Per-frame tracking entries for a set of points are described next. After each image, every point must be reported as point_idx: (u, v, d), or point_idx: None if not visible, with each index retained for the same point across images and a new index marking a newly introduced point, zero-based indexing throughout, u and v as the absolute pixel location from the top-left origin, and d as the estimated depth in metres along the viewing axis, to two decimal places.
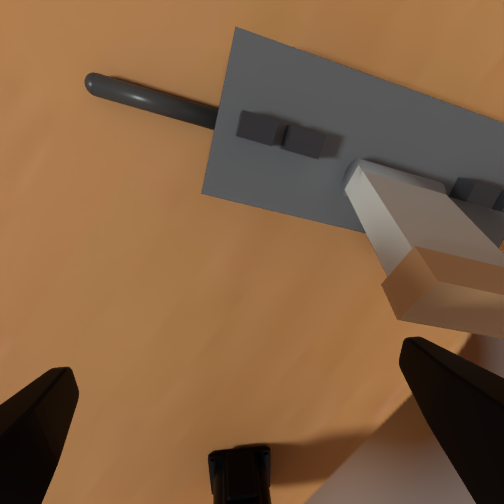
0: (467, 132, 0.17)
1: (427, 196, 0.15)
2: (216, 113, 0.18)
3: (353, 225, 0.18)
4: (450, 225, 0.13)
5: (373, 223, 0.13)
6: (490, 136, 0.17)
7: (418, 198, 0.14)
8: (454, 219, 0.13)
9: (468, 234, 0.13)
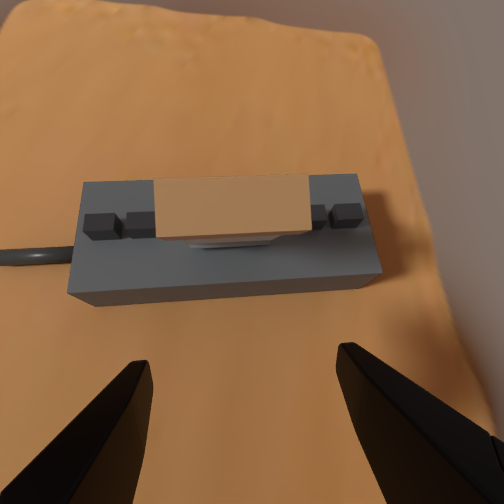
0: None
1: None
2: None
3: (222, 279, 0.19)
4: None
5: None
6: None
7: None
8: None
9: None
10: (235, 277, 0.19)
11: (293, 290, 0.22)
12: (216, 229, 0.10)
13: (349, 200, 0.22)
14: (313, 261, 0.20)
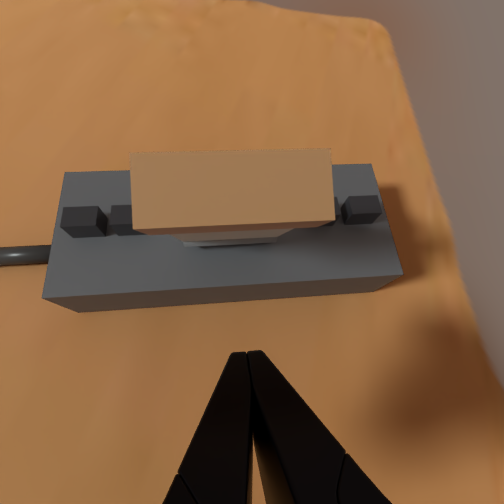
0: None
1: None
2: None
3: (221, 281, 0.16)
4: None
5: None
6: None
7: None
8: None
9: None
10: (235, 279, 0.16)
11: (300, 294, 0.20)
12: (212, 219, 0.08)
13: (364, 192, 0.19)
14: (324, 261, 0.17)
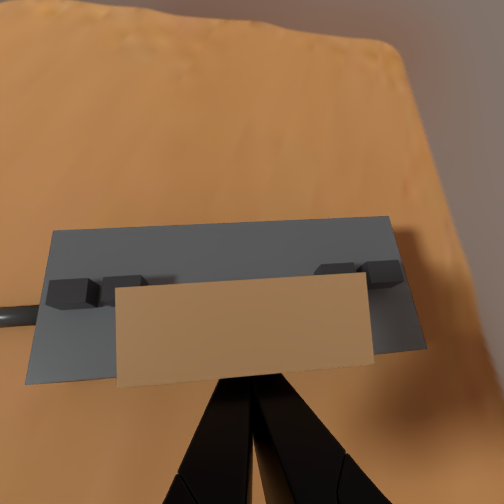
0: (294, 235, 0.18)
1: None
2: None
3: None
4: None
5: None
6: (318, 231, 0.18)
7: None
8: None
9: None
10: None
11: None
12: (218, 370, 0.06)
13: (381, 250, 0.18)
14: None
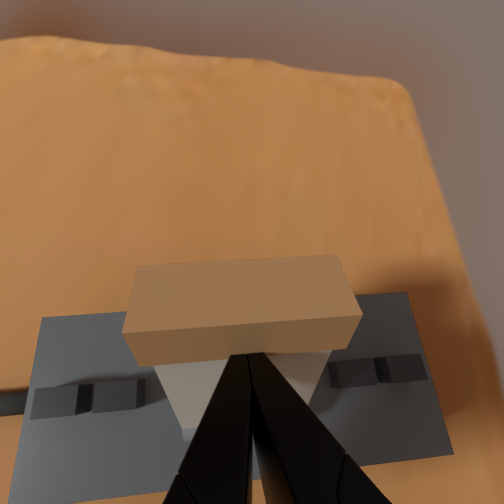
0: None
1: None
2: None
3: None
4: None
5: None
6: None
7: None
8: None
9: None
10: None
11: None
12: (216, 319, 0.07)
13: (400, 333, 0.16)
14: (357, 438, 0.14)
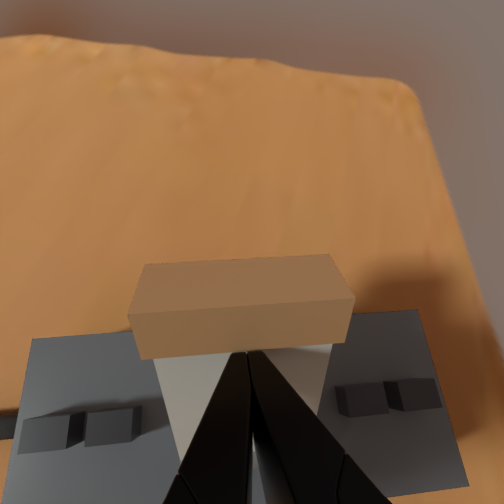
0: None
1: None
2: None
3: None
4: None
5: None
6: None
7: None
8: None
9: None
10: None
11: None
12: (217, 302, 0.07)
13: (411, 355, 0.15)
14: (367, 469, 0.13)
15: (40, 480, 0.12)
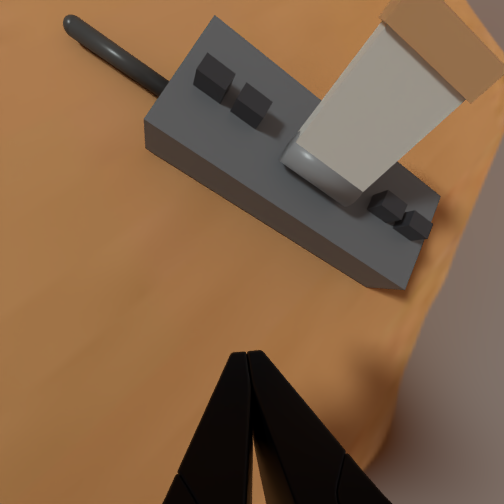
0: None
1: None
2: None
3: (285, 207, 0.18)
4: None
5: (337, 84, 0.14)
6: (393, 170, 0.21)
7: None
8: None
9: None
10: (296, 212, 0.18)
11: (321, 254, 0.22)
12: (454, 13, 0.12)
13: (421, 214, 0.22)
14: (363, 244, 0.20)
15: (186, 104, 0.17)
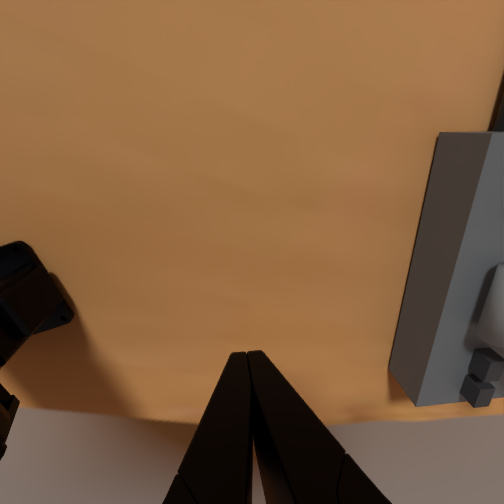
0: None
1: None
2: None
3: (452, 288, 0.19)
4: None
5: None
6: None
7: None
8: None
9: None
10: (450, 299, 0.19)
11: (405, 325, 0.24)
12: None
13: None
14: (442, 360, 0.22)
15: None
